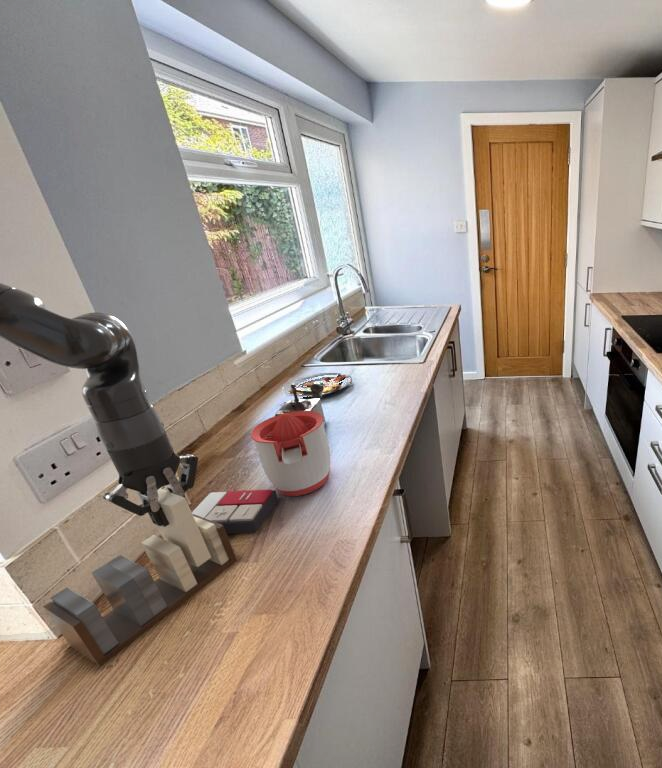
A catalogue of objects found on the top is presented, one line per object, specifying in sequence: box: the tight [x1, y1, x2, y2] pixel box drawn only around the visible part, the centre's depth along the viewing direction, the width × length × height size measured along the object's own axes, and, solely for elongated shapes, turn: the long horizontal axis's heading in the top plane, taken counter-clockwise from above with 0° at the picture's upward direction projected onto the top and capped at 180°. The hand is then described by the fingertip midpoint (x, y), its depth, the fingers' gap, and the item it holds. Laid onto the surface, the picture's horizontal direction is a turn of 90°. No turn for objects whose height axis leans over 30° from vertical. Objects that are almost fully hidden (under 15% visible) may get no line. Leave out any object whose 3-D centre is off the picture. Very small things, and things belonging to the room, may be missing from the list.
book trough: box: [42, 514, 238, 667], centre depth 71 cm, size 9×22×10 cm, turn 157°
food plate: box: [281, 372, 353, 398], centre depth 159 cm, size 25×23×4 cm
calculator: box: [191, 489, 279, 535], centre depth 91 cm, size 11×4×15 cm
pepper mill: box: [274, 382, 327, 428], centre depth 124 cm, size 16×11×18 cm
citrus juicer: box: [250, 411, 331, 497], centre depth 99 cm, size 16×17×20 cm
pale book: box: [156, 488, 211, 567], centre depth 74 cm, size 8×2×14 cm, turn 67°
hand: (173, 518), depth 73 cm, fingers closed on pale book, 2 cm apart
